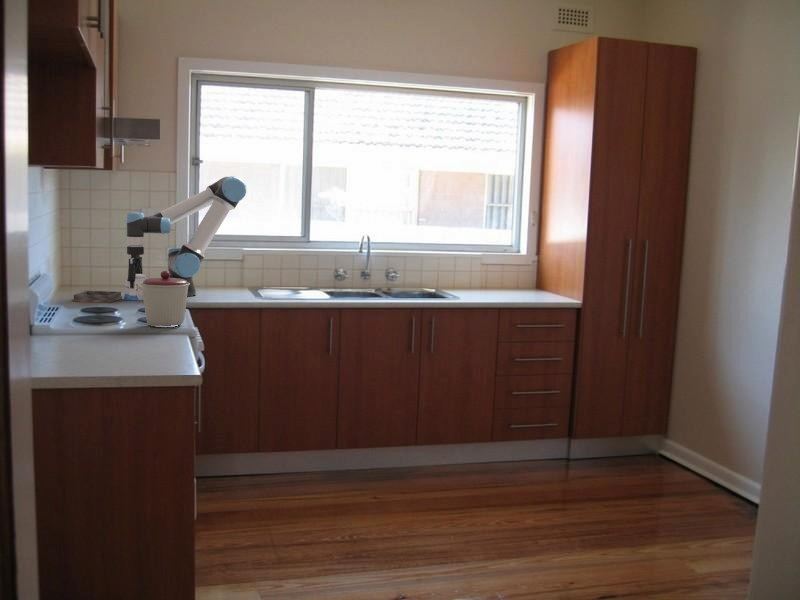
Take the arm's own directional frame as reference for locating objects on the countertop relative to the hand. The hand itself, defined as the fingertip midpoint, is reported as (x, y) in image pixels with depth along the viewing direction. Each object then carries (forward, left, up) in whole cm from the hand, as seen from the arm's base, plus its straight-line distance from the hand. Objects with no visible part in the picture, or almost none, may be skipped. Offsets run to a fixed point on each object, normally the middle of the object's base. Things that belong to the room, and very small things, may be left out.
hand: (135, 294), depth 387 cm
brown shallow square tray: (+16, +4, -3) cm, 17 cm away
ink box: (0, 0, -3) cm, 3 cm away
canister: (-31, +73, -3) cm, 79 cm away
